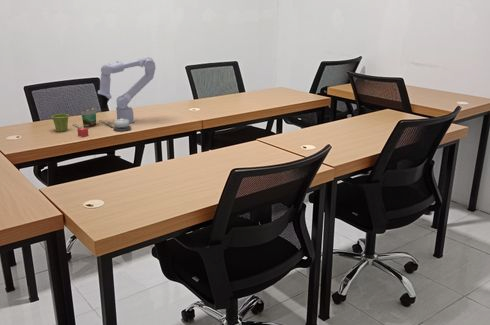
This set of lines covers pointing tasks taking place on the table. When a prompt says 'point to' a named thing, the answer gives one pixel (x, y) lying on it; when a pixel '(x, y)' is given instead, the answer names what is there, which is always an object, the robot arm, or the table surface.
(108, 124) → the game lane
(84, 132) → the red die
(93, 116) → the food container
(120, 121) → the dome
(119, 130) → the dark grey disc
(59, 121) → the plant pot
